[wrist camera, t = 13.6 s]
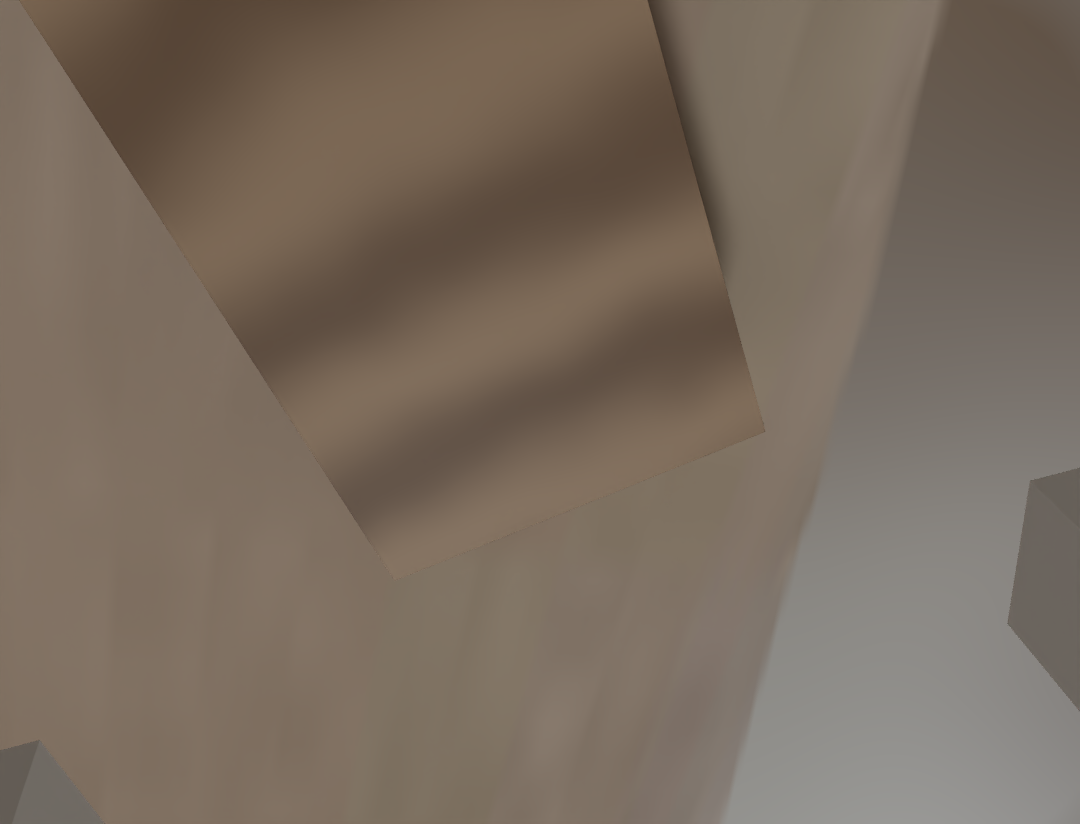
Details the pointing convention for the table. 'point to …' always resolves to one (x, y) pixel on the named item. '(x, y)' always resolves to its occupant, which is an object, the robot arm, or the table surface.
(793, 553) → the table surface
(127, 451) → the table surface
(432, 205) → the walnut base brick
